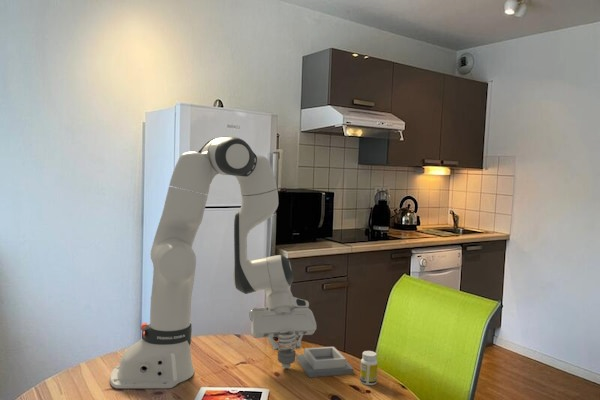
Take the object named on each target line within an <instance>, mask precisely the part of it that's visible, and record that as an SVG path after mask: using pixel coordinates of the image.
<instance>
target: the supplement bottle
mask: <svg viewBox="0 0 600 400" xmlns="http://www.w3.org/2000/svg"><path fill="white" fill-rule="evenodd" d="M377 355H378V354H377V353H376V352H375V351H372V350H364V351H363V352H362V358H361V359H360V373H359V382H360V383H361V384H363V385H365V386H366V385H367V386H374V385H376V384H377V381H378V363H379V362H378V359H377Z"/></svg>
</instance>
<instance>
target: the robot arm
mask: <svg viewBox="0 0 600 400" xmlns="http://www.w3.org/2000/svg"><path fill="white" fill-rule="evenodd" d="M218 174H220V175H222V176H232V177H233V176H234V177H235V178H236V179H237V182H238V185H239V187H240V195H241V206H240V208H239V210H238V211H237V212H235V215H234V222H233V223H234V224H233V227H234V228H233V242H234V245H233V246H234V247H233V248H234V249H233V250H234V266H233V274H232V277H233V280H232V281H233V285H234V286H235V289H236V290H237V291H239V292H241V293H242V294H245V295H248V294H251V293H255V292H257V291H262V290H263V291H264V292H265V295H266V297H265V304H266V306H265V307H254V308H253V309H251V310H250V311H249V313H248V314H249V315H248V316H249V320H250V321H251V327H250V328H251V330H250V331H251V332H250V333H251V336H252V337H253V338H255V339H258V338H259V339H260V338H267V341H268V342H269V343H270V344H271V346H272V351H279V350H280V349H279V346H280V345H279V343H278V342H279V341H278V342H276V341H275V339H274V338H276V337H278V338H280V337H279V336H278V335H279V334H281V333H280V331H281V330H283V331H284V330H288V329H290V330H293V331H294V332H295V333H296V336H297V337H296V339H298V340H297V341H296V346H295V350H299V349H301V348H302V343H301V342H302V339H303V336H312V335H313V334H314V333H315V331H316V330H317V326H318V325H317V321H316V319H315V316H314V313H313V311H312V310H311V309H310V308H309V307H310V302H309V301H308V300H306V299H301V298H299V297H295V296H293V293H292V291H291V290H292V289H291V287H292V286H291V285H292V283H293V282H294V280H295V279H294V275H293V269H292V263H291V259H289V258H287V257H286V256H284V255H283V254H281V255H280V254H278V255H277V254H276V255H272V256H266V257H263V258H262V257H261V258H258V259H248V235H249V233H250V231H251V230H253V229H254V228H255V227H257V226H258V225H261V224H262V223H264V222H265V221H267V220H269V219H270V218H271V217H272V216H273V215H274V214H275V212H276V211H277V210H278V207H279V192H278V186H277V181H276V177H275V174H274V171H273V168H272V165H271V163H270V161H269V159H268V158H267V157H266V156H264V155H260V154H256V153H255V152H254V151H253V150H252V148H251V146H250V144H248V143H247V142H246V141H245V140H243V139H242V138H240V137H236V136H231V137H230V136H220V137H216V138H212V139H210V140H208V142H206V143H205V144H203V146H202V148H201V149H199V150H198V151H186V152H183V153H182V154H181V155H180V156H179V158H178V160H177V162H176V165H175V166H174V169H173V171H172V175H171V178H170V180H169V181H170V182H169V185H168V188H167V193H166V197H165V200H164V205H163V208H162V209H163V210H162V214H161V217H160V219H159V222H158V225H157V229H156V231H155V235H154V237H153V242H152V246H151V249H150V260H151V262H152V266H153V271H152V274H153V275H152V287H151V296H150V309H149V310H150V312H149V314H150V315H149V316H150V317H149V324H148V323H147V322H142V324H141V326H140V330H141V338H140V339H139V340H138V341H136V342H135V343H134V344H132V345H131V346H129V347H128V348H126V350H124V352H123V353H122V356H121V358H120V362H119V364H118V365H116V366H115V367H114V368H113V369H112V370H111V372H110V377H109V383H110V385H111V386H112V388H114V389H172V388H174V387H175V386H177V385H178V384H180V383H182V382H185V381H187V380H188V379H191V377H193V375H194V374H195V368H194V365H193V360H192V352H191V351H192V350H191V344H192V343H191V342H192V337H193V328H192V327H193V326H192V322H191V309H192V294H193V288H194V281H195V276H196V266H197V257H196V253H195V250H194V249H193V245H194V244H193V243H194V241H195V238H196V235H197V232H198V230H199V227H200V225H201V224H202V221H203V217H204V214H205V209H206V205H207V201H208V195H209V193H210V188H211V184H212V181H213V179H214V178H215V177H216V176H217V175H218ZM286 334H290V333H286Z"/></svg>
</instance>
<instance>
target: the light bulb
mask: <svg viewBox="0 0 600 400" xmlns="http://www.w3.org/2000/svg"><path fill="white" fill-rule="evenodd" d="M280 333H281V334H279V335H278V336H279V337H278V338H277V340H278V343H279V349H278V350H277V360H278V362H279V363H280V364H281V367H282V368H283V369H285V370H287V369H289V368H290V367H291V365H292V364H294V363H295V362H296V361H295V360H296V355H297V354H296V348H295V347H296V341H298V340H297V339H298V338H297V335H296V333H295V332H294V331H293V330H290V329H288V330H284V331H283V330H281V331H280ZM286 333H290V334H286Z"/></svg>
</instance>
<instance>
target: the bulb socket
mask: <svg viewBox="0 0 600 400" xmlns="http://www.w3.org/2000/svg"><path fill="white" fill-rule="evenodd" d="M295 360H296V361H297V363H298V365H299V366H300V367H301V368H302V369H303V372H304V373H305V374H306V376H307V377H308V378H318V377H319V378H320V377H328V376H331V377H332V376H341V375H350V374H354V367H353V366H352V365H351V364H350V363H348V361H347V359H346V358H345V356H343V354H342V353H341V352H340V351H339V350H338V349H337V348H336V347H335V346H322V347H308V348H307V347H306V348H303V354H296V355H295Z"/></svg>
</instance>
